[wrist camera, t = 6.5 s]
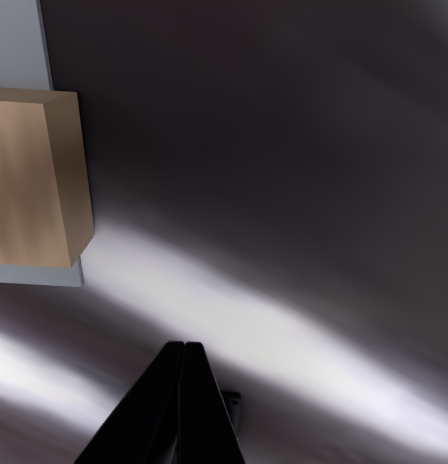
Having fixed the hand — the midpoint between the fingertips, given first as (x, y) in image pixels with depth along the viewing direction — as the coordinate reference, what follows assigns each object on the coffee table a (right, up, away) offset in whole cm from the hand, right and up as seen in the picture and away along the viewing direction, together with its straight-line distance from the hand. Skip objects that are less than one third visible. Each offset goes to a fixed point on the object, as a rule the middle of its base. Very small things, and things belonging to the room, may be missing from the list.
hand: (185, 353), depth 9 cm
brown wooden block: (-7, +5, +9) cm, 13 cm away
